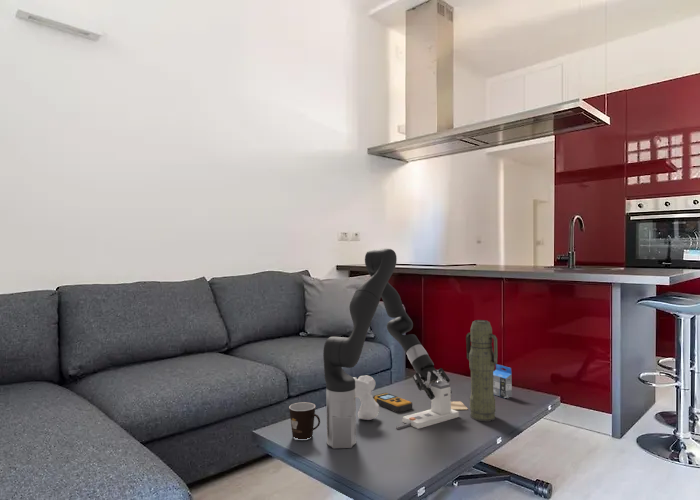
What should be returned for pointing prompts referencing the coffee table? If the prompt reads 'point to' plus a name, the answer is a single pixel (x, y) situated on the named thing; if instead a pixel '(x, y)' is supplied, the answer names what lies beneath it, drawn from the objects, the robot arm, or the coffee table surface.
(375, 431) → the coffee table surface
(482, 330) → the thermos
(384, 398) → the electronic device
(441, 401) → the block
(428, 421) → the power strip
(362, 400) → the white irregular upright piece
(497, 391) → the label tape box
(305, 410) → the coffee mug
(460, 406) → the cork coaster
